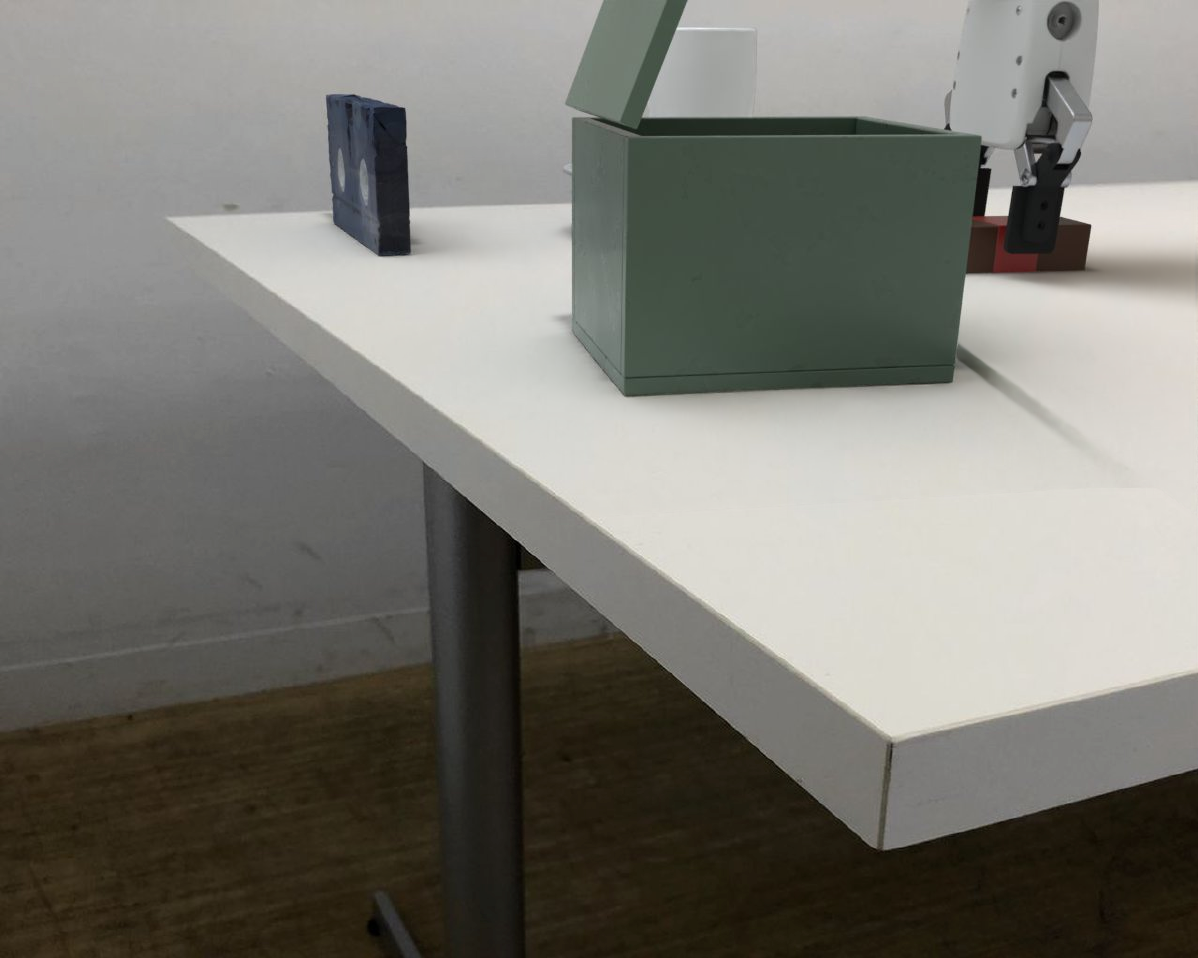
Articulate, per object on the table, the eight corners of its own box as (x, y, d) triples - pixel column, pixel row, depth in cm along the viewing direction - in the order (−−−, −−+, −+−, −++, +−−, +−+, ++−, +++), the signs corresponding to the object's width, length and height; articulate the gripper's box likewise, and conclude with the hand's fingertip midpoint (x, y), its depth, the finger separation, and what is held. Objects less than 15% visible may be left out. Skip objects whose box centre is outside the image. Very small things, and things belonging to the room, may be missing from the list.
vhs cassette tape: (413, 254, 93) (406, 106, 89) (372, 256, 92) (363, 106, 88) (368, 221, 109) (360, 93, 105) (332, 222, 108) (323, 94, 104)
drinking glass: (667, 264, 90) (674, 27, 84) (760, 272, 87) (774, 28, 82) (626, 278, 85) (630, 27, 79) (723, 288, 82) (735, 27, 76)
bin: (847, 322, 72) (864, 116, 68) (953, 382, 60) (982, 135, 56) (571, 331, 70) (571, 117, 65) (624, 396, 58) (628, 137, 53)
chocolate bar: (1049, 270, 89) (1057, 214, 88) (1083, 282, 85) (1092, 223, 84) (912, 274, 87) (918, 217, 86) (940, 286, 83) (947, 226, 82)
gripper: (1175, -54, 71) (1115, 263, 78) (1024, -44, 87) (985, 220, 94) (1049, -60, 70) (1000, 264, 77) (918, -48, 85) (887, 220, 92)
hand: (992, 240), depth 85 cm, fingers open, 9 cm apart
